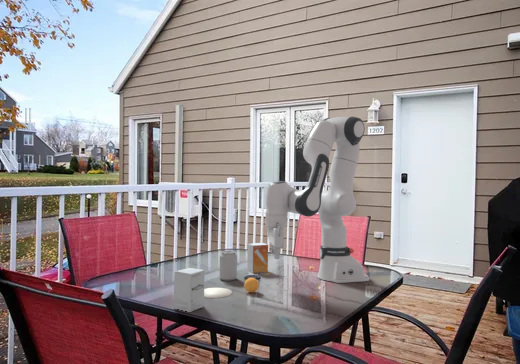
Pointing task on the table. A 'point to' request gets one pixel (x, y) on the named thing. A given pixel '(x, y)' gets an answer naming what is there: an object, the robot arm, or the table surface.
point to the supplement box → (189, 289)
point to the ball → (251, 285)
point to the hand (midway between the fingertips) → (275, 256)
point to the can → (228, 265)
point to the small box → (257, 257)
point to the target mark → (216, 292)
